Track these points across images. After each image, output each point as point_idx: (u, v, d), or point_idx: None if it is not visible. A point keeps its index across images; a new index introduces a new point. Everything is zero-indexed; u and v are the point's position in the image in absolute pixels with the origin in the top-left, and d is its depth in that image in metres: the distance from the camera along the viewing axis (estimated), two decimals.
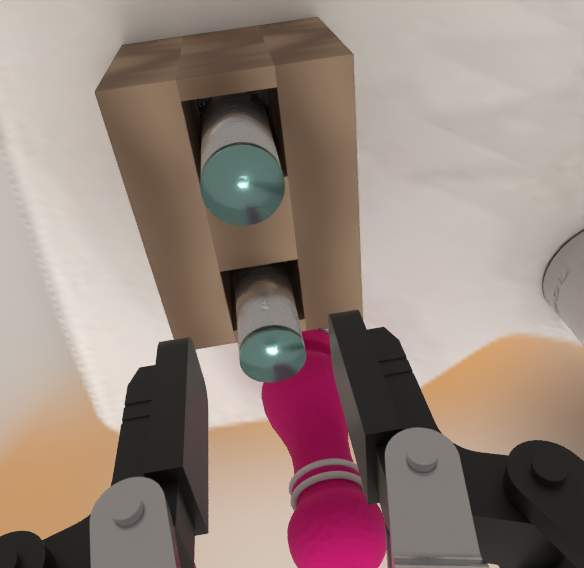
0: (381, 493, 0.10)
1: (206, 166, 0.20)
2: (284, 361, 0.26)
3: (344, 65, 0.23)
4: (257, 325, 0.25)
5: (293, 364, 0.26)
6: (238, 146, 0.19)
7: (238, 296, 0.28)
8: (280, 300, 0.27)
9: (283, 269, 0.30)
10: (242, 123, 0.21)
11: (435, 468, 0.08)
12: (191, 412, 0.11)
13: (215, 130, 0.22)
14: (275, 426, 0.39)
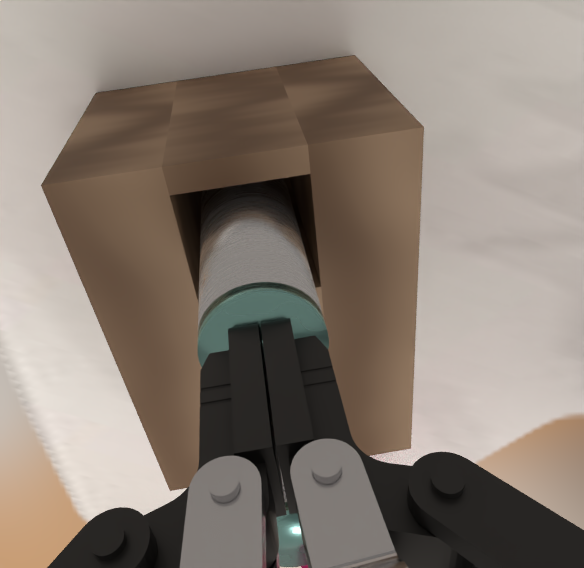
0: None
1: (207, 322, 0.12)
2: None
3: (409, 142, 0.16)
4: None
5: None
6: (258, 294, 0.12)
7: None
8: None
9: None
10: (261, 237, 0.14)
11: (337, 480, 0.08)
12: (267, 396, 0.11)
13: (220, 246, 0.14)
14: None
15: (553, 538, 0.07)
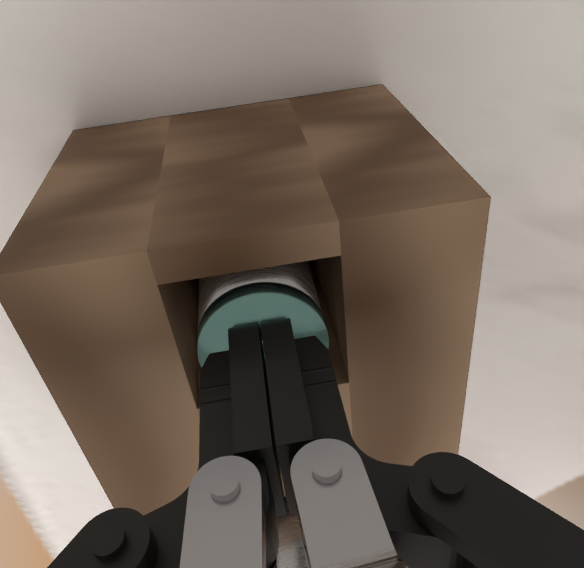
0: None
1: (206, 322, 0.12)
2: None
3: (471, 216, 0.12)
4: None
5: None
6: (258, 294, 0.12)
7: None
8: None
9: None
10: None
11: (337, 480, 0.08)
12: (267, 396, 0.11)
13: None
14: None
15: (554, 539, 0.07)
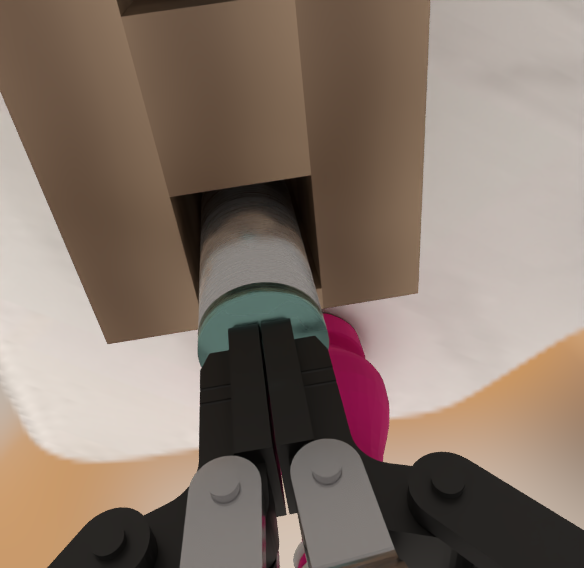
0: None
1: None
2: None
3: None
4: (232, 284, 0.13)
5: None
6: None
7: (204, 239, 0.16)
8: (279, 240, 0.14)
9: (284, 198, 0.17)
10: None
11: (337, 480, 0.08)
12: (267, 396, 0.11)
13: None
14: None
15: (553, 538, 0.07)
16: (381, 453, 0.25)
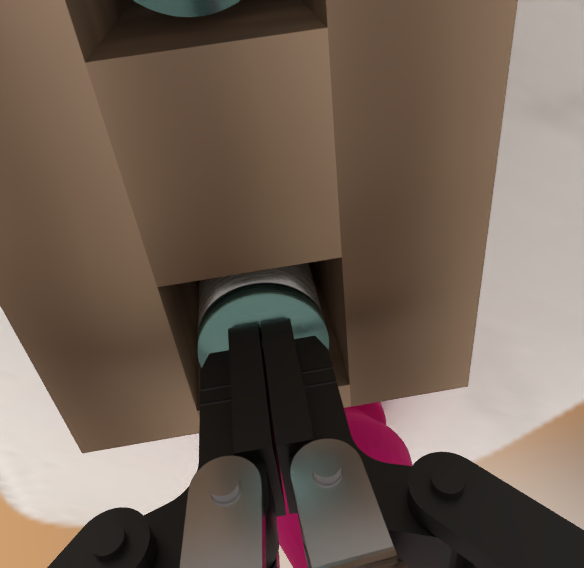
0: None
1: None
2: None
3: None
4: (232, 284, 0.13)
5: None
6: None
7: None
8: None
9: None
10: None
11: (337, 480, 0.08)
12: (267, 396, 0.11)
13: None
14: (283, 546, 0.23)
15: (553, 538, 0.07)
16: None
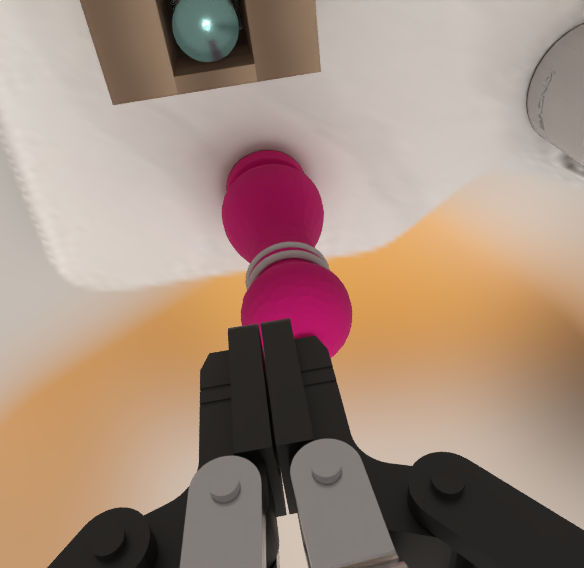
0: None
1: None
2: (217, 32, 0.26)
3: None
4: None
5: (226, 37, 0.26)
6: None
7: None
8: None
9: None
10: None
11: (337, 480, 0.08)
12: (267, 396, 0.11)
13: None
14: (235, 239, 0.36)
15: (554, 538, 0.07)
16: (312, 228, 0.34)
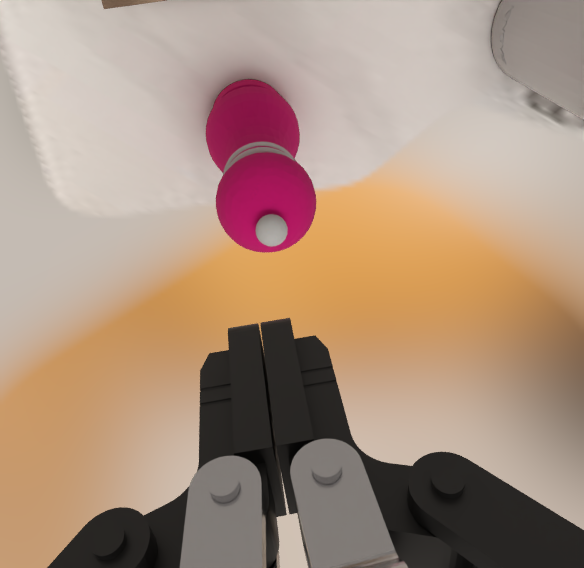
0: None
1: None
2: None
3: None
4: None
5: None
6: None
7: None
8: None
9: None
10: None
11: (337, 480, 0.08)
12: (267, 396, 0.11)
13: None
14: (216, 153, 0.39)
15: (554, 538, 0.07)
16: (287, 141, 0.38)
